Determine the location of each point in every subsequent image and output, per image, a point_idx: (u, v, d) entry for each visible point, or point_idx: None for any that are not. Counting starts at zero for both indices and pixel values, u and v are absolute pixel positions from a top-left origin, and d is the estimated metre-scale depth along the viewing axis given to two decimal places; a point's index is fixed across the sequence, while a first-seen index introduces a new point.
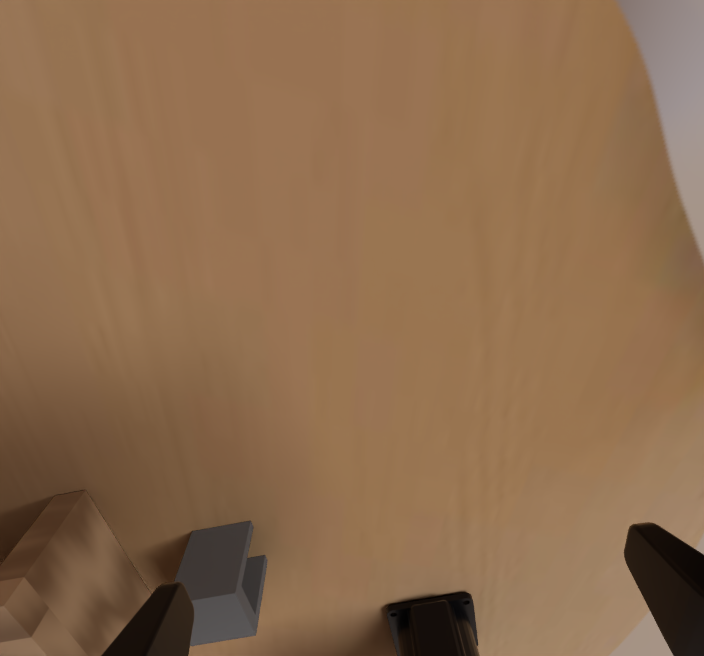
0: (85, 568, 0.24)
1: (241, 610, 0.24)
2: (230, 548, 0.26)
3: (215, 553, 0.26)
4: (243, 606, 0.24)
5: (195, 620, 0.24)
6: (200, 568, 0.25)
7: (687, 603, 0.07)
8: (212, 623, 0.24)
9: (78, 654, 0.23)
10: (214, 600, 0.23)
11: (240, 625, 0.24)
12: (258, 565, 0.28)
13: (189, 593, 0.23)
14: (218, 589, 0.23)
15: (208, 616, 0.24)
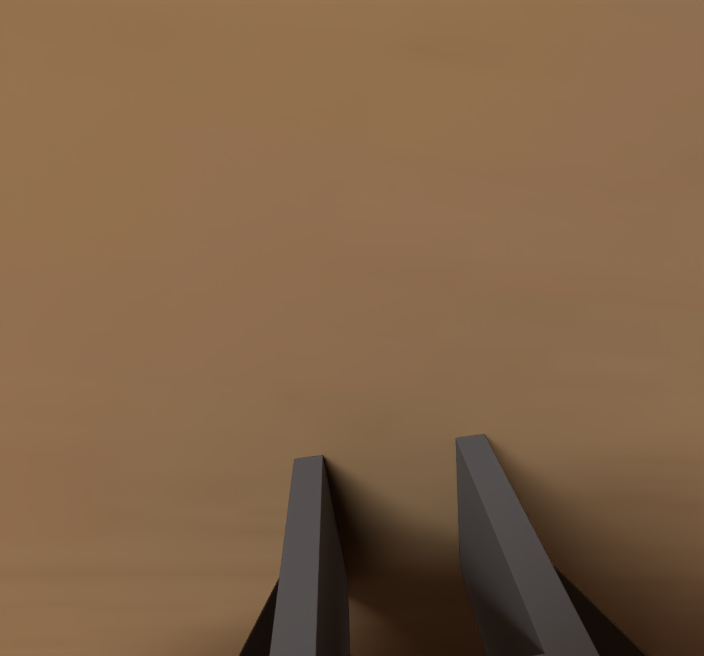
0: None
1: None
2: None
3: None
4: None
5: None
6: None
7: None
8: None
9: None
10: None
11: None
12: (465, 473, 0.08)
13: None
14: None
15: None
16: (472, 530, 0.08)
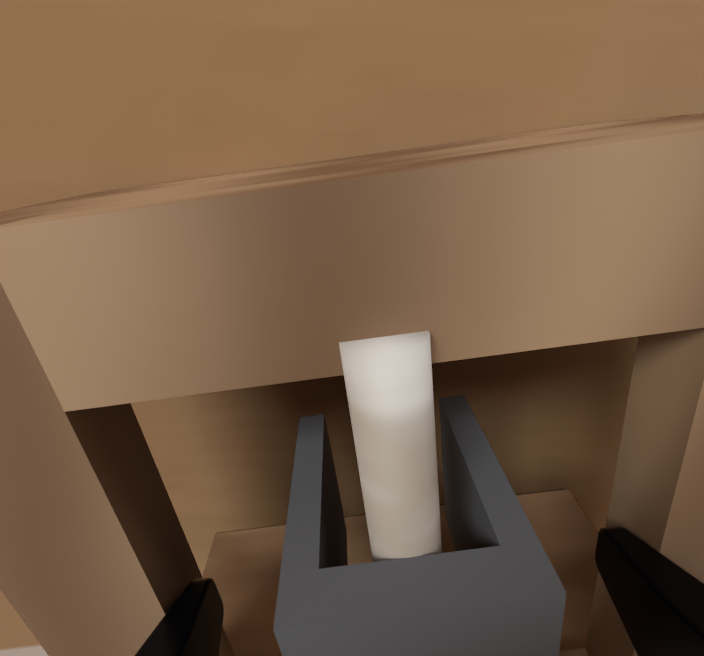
0: (173, 187, 0.09)
1: (386, 620, 0.06)
2: None
3: None
4: (377, 605, 0.06)
5: None
6: None
7: (651, 607, 0.07)
8: None
9: (299, 179, 0.06)
10: None
11: (482, 628, 0.06)
12: (446, 427, 0.10)
13: None
14: None
15: None
16: (452, 476, 0.10)
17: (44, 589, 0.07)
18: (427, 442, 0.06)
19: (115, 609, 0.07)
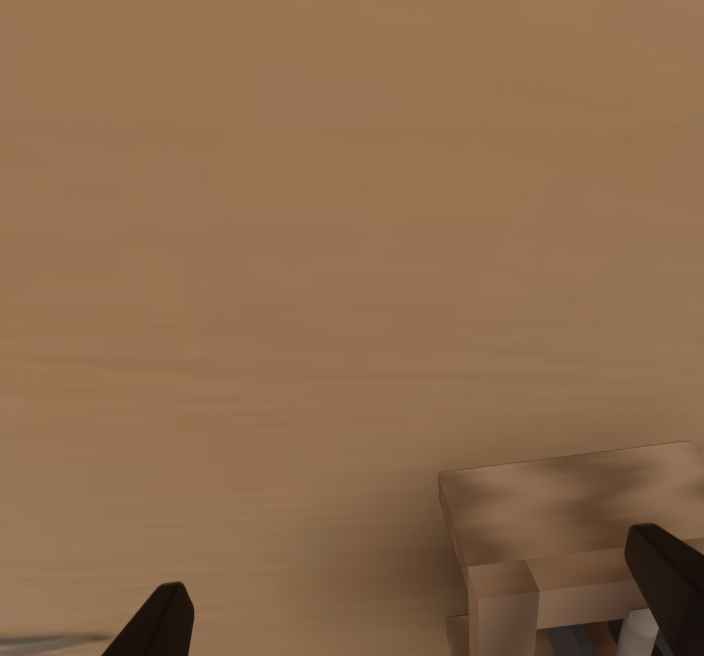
0: (518, 506, 0.20)
1: None
2: (568, 638, 0.21)
3: (568, 652, 0.21)
4: None
5: None
6: None
7: (687, 603, 0.07)
8: None
9: (614, 555, 0.18)
10: None
11: None
12: None
13: None
14: None
15: None
16: None
17: None
18: None
19: None
